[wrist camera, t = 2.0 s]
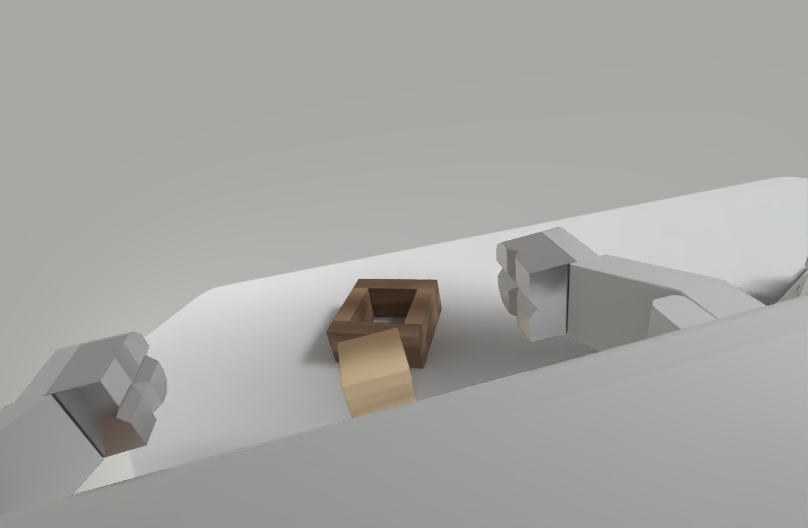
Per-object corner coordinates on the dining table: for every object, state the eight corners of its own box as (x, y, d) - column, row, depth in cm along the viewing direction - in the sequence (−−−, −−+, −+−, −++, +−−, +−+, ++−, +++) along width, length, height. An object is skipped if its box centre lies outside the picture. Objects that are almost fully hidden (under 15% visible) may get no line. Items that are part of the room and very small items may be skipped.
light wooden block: (443, 520, 33) (410, 369, 25) (391, 536, 33) (341, 388, 24) (430, 472, 36) (397, 326, 28) (383, 486, 36) (336, 342, 28)
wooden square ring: (423, 368, 47) (417, 336, 45) (336, 361, 50) (326, 331, 48) (441, 308, 55) (437, 279, 53) (365, 306, 59) (358, 278, 56)
